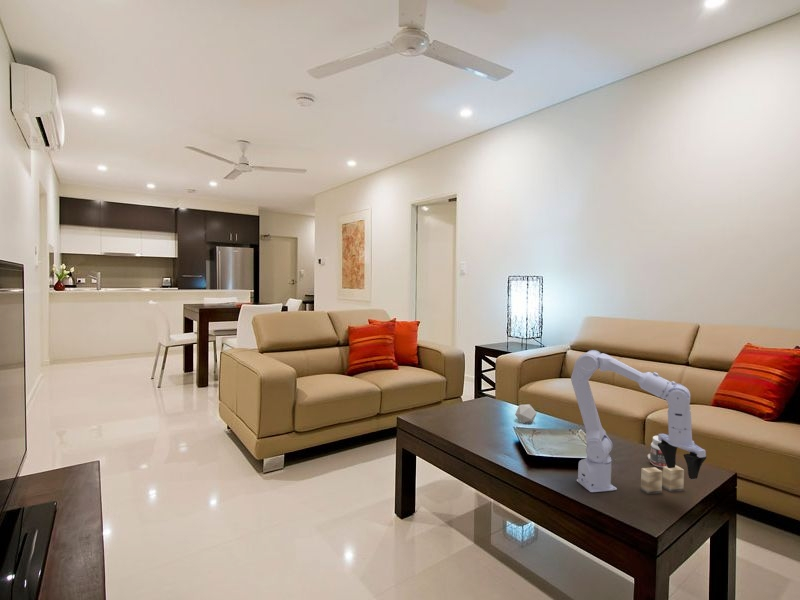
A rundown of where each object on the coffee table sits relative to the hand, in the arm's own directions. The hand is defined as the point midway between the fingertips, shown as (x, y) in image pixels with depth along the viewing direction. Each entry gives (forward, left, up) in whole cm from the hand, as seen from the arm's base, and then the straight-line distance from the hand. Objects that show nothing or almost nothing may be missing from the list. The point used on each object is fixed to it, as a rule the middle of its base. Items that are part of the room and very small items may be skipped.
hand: (681, 472), depth 121 cm
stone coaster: (+21, +30, -11) cm, 38 cm away
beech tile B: (+7, +10, -11) cm, 17 cm away
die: (-10, +76, -11) cm, 78 cm away
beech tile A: (-1, +10, -11) cm, 15 cm away
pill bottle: (+17, +27, -11) cm, 33 cm away
